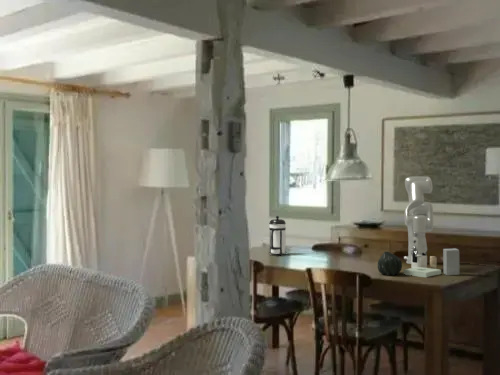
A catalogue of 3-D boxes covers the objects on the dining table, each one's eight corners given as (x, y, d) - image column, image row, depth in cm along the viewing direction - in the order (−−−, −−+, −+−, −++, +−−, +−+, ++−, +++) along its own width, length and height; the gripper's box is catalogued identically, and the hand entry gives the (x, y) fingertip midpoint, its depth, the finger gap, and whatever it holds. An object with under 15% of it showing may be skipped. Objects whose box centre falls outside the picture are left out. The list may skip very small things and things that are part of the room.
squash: (410, 265, 391) (395, 246, 397) (398, 269, 380) (383, 249, 386) (395, 279, 398) (380, 260, 404) (383, 283, 387) (368, 263, 393)
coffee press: (264, 254, 492) (263, 215, 491) (283, 253, 497) (283, 215, 496) (271, 256, 475) (271, 217, 475) (291, 256, 480) (291, 216, 479)
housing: (411, 269, 408) (411, 255, 407) (417, 268, 412) (417, 254, 412) (420, 270, 402) (420, 256, 402) (426, 269, 407) (426, 255, 407)
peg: (428, 272, 399) (428, 256, 398) (432, 271, 401) (432, 255, 401) (434, 273, 396) (434, 257, 395) (437, 272, 398) (437, 256, 398)
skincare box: (456, 273, 394) (456, 248, 393) (460, 275, 387) (460, 249, 386) (442, 273, 394) (442, 248, 393) (446, 275, 386) (446, 249, 386)
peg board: (403, 274, 391) (403, 269, 391) (418, 271, 402) (418, 266, 402) (426, 277, 379) (426, 272, 379) (441, 274, 390) (441, 269, 390)
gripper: (416, 236, 398) (416, 263, 398) (431, 234, 409) (431, 261, 409) (406, 235, 404) (406, 262, 404) (421, 234, 415) (421, 260, 415)
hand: (419, 261), depth 407 cm, fingers open, 9 cm apart
